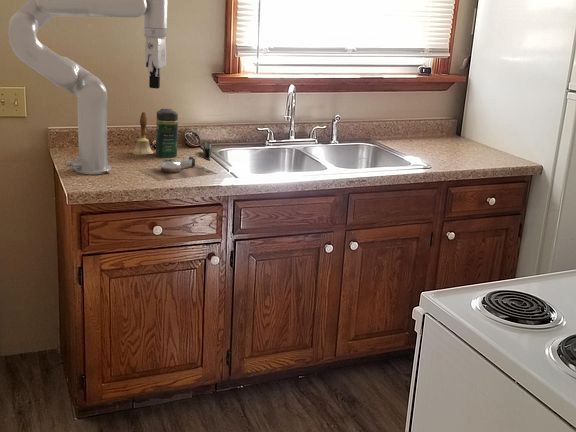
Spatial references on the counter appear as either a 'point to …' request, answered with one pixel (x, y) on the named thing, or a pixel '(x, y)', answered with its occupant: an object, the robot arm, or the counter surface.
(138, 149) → the hand bell
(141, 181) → the counter surface
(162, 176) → the level board
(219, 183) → the counter surface
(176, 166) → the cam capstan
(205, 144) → the dark green box
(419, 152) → the counter surface
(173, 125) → the coffee jar
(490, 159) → the counter surface
